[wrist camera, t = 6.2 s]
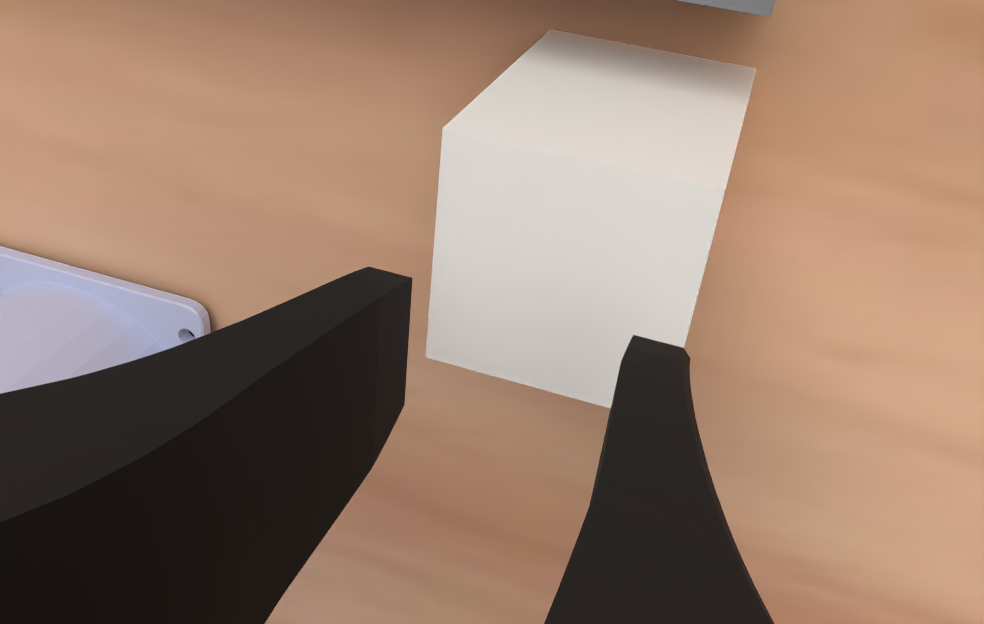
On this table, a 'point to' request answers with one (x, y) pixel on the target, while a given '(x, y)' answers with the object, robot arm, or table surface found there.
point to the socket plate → (740, 5)
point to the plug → (580, 210)
